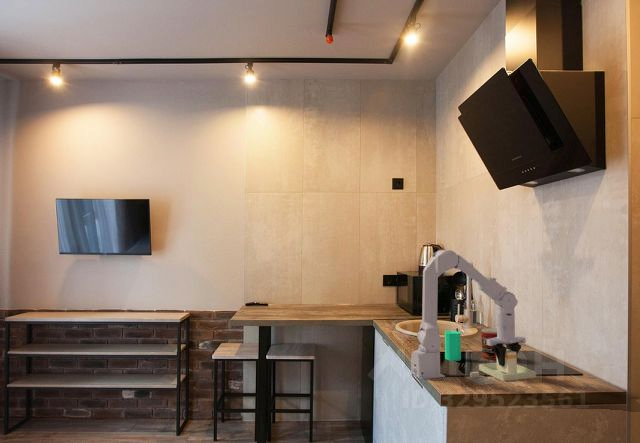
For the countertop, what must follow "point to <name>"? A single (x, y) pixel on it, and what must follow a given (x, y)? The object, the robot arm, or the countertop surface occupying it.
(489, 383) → the fuse holder
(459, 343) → the candle
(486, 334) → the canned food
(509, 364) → the block
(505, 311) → the robot arm
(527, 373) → the tray
